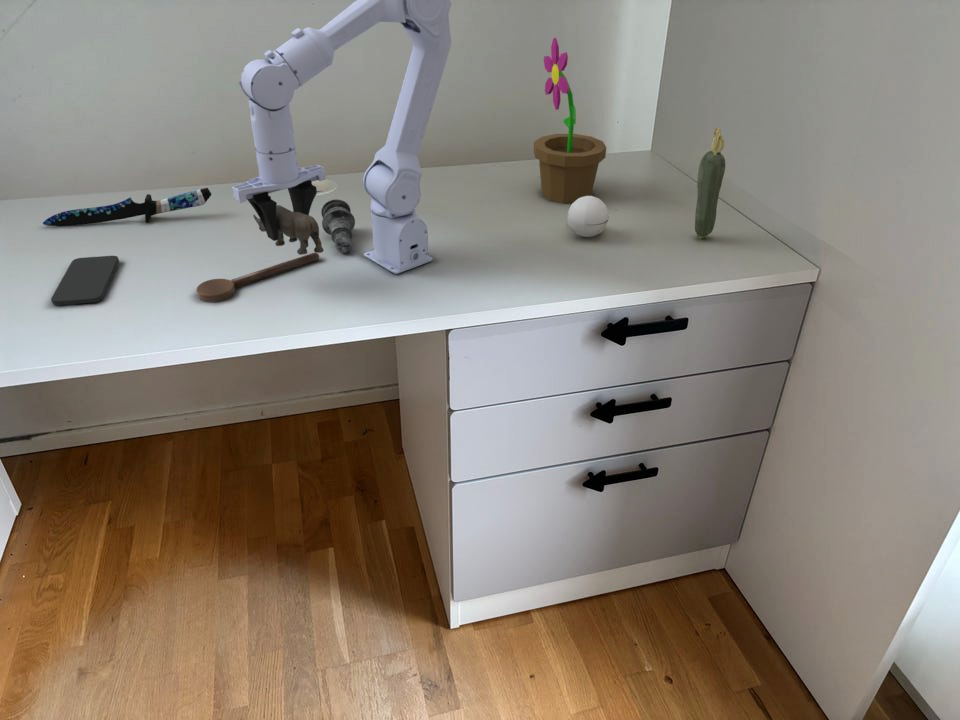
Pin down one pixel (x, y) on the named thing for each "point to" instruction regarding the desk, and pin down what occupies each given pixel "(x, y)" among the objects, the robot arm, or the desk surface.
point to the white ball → (588, 216)
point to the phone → (85, 280)
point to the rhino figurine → (295, 229)
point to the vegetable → (709, 186)
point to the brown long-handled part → (246, 279)
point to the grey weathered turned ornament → (338, 223)
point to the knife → (129, 209)
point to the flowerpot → (566, 145)
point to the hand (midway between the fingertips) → (287, 233)
